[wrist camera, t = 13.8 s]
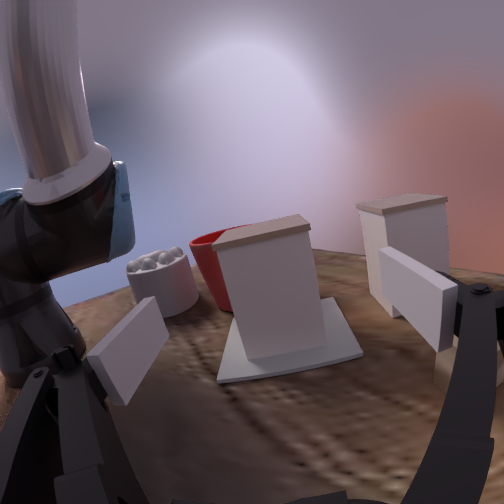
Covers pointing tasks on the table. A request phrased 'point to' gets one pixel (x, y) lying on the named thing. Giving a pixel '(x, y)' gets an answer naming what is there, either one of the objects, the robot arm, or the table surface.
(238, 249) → the cover canister
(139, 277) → the lumpy-topped squat cylinder
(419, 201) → the empty canister
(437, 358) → the open box
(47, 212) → the robot arm
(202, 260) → the flower pot
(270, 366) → the felt mat
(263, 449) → the table surface
